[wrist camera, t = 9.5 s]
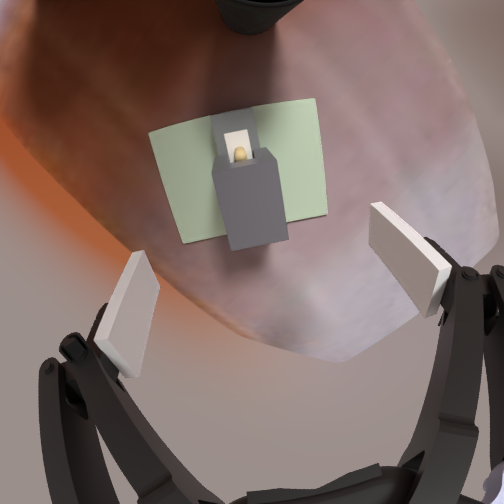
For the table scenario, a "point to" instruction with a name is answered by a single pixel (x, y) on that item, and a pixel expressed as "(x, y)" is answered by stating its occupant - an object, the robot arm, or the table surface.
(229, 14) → the cup
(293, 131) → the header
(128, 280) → the robot arm
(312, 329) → the table surface
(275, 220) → the plug block
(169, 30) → the table surface
